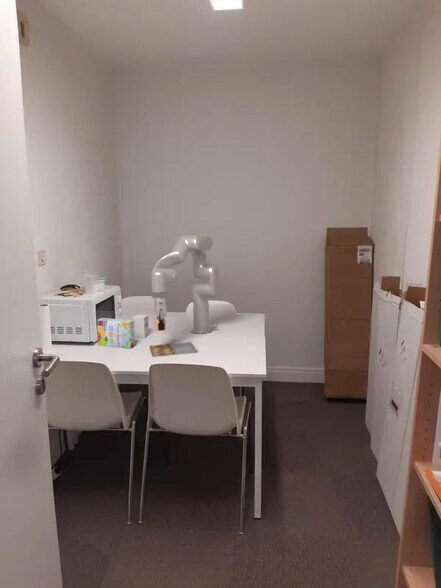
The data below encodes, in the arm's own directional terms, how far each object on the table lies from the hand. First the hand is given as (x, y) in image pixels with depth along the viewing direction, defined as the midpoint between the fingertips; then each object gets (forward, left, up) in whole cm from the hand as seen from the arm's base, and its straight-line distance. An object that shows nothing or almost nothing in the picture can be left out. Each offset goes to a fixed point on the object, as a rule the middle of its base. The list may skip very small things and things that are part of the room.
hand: (160, 328), depth 235 cm
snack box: (+22, -21, -14) cm, 33 cm away
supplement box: (+7, -35, -14) cm, 38 cm away
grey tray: (-12, 0, -14) cm, 18 cm away
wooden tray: (0, 0, -14) cm, 14 cm away
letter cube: (0, 0, -1) cm, 1 cm away
